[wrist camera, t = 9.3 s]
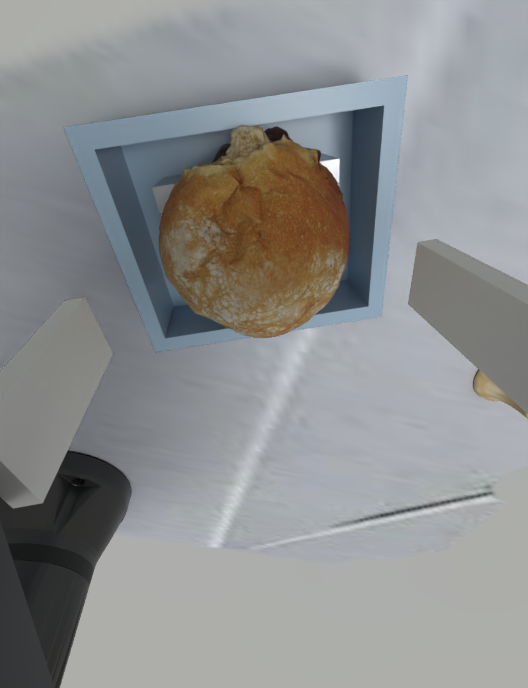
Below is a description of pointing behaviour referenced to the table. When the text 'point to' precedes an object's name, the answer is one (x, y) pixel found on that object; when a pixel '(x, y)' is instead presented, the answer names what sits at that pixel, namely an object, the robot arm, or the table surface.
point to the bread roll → (256, 234)
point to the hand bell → (493, 392)
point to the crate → (201, 147)
